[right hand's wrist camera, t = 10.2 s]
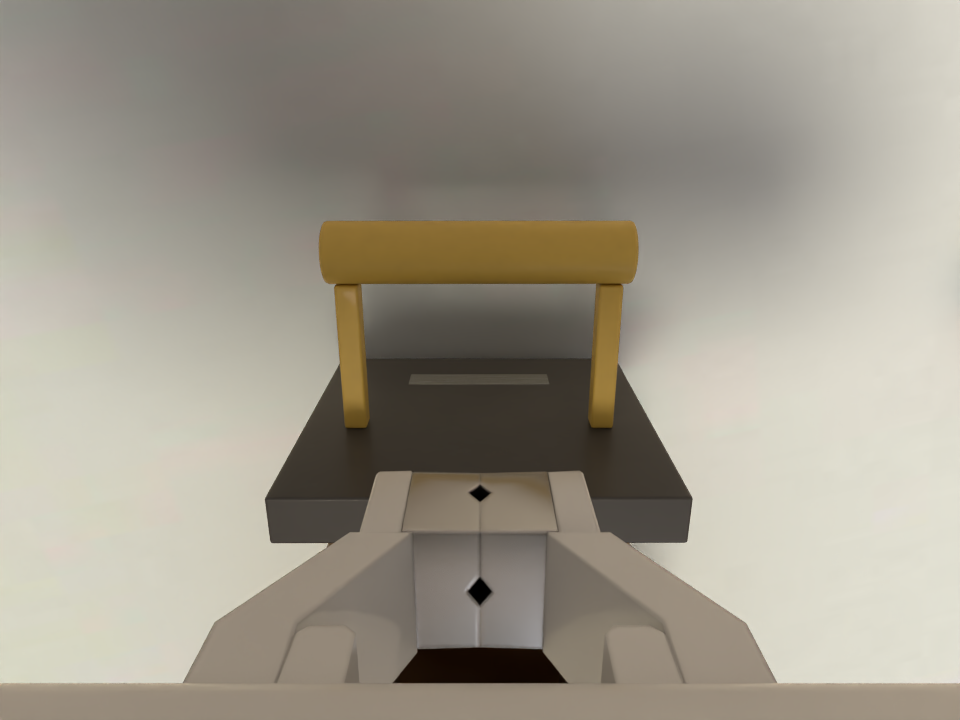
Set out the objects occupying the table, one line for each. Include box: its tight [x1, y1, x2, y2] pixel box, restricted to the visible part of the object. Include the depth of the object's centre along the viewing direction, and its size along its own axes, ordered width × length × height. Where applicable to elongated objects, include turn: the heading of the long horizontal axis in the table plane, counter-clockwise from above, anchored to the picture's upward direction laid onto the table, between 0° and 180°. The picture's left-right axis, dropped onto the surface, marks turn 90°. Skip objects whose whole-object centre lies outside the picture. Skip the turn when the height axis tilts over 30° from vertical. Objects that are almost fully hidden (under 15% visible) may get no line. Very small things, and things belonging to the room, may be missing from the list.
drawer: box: [265, 221, 692, 683], centre depth 22 cm, size 26×10×9 cm, turn 0°
